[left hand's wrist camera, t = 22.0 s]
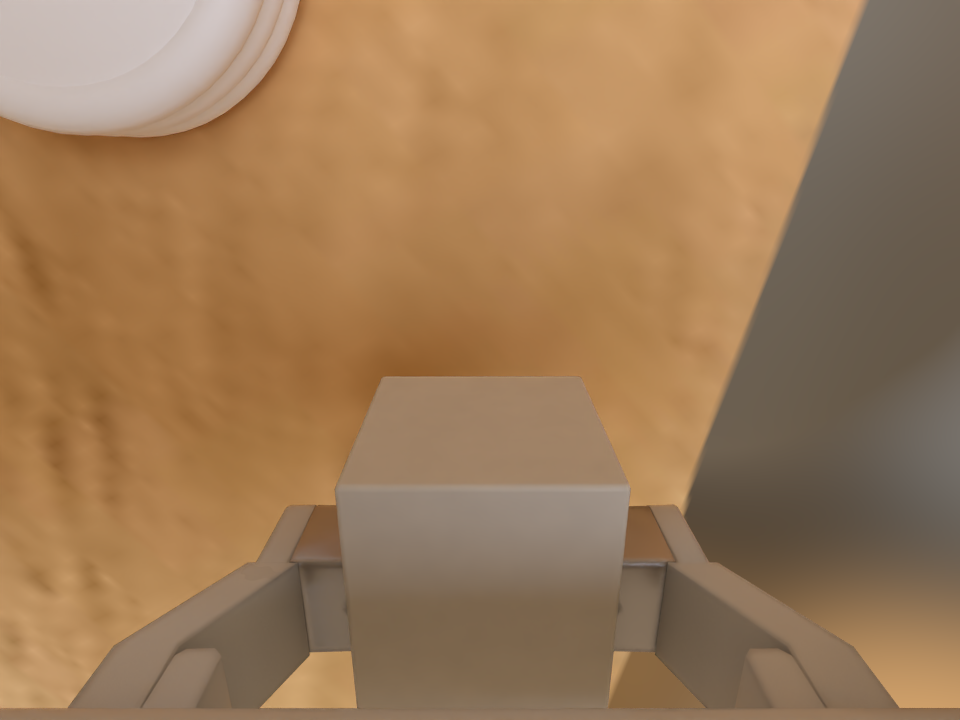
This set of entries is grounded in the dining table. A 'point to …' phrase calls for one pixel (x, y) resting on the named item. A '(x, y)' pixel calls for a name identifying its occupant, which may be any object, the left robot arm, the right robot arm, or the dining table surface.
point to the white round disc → (134, 61)
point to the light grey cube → (482, 544)
